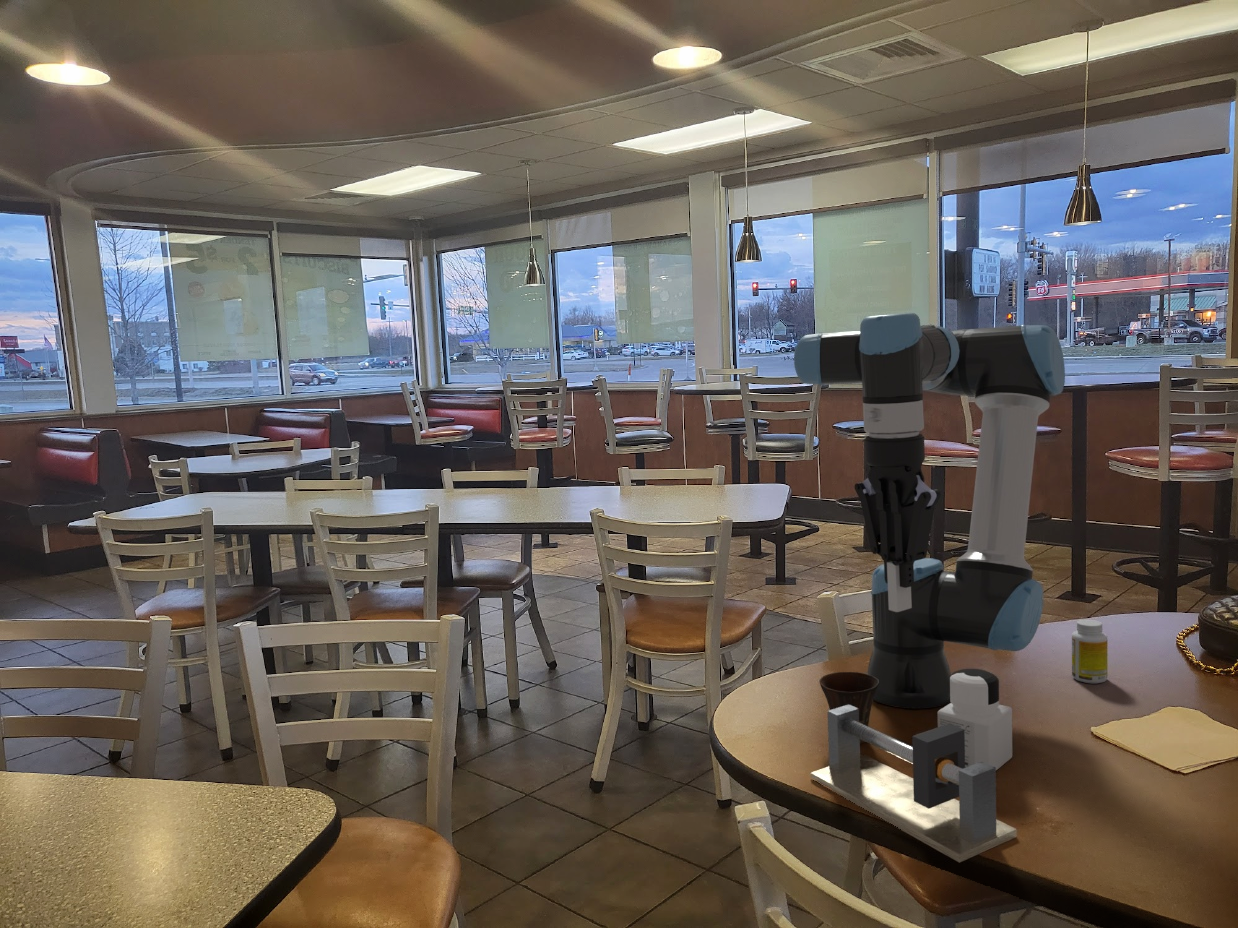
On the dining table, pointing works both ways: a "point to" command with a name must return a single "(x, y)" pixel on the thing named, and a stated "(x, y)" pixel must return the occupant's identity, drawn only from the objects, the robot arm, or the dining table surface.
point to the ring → (925, 751)
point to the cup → (850, 692)
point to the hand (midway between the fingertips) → (900, 608)
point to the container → (979, 717)
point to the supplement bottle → (1089, 652)
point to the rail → (892, 793)
